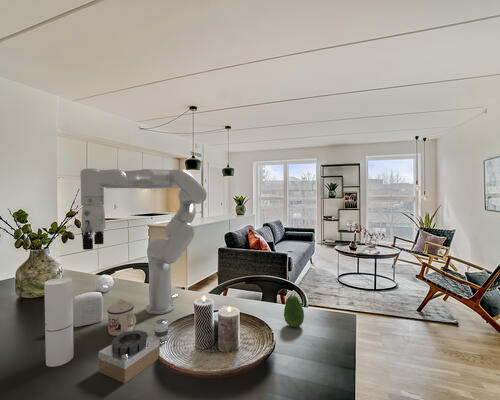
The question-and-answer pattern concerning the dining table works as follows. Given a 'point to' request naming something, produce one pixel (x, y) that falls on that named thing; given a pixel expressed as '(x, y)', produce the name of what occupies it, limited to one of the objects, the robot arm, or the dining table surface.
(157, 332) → the lens
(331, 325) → the dining table surface
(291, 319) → the avocado
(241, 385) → the dining table surface
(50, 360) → the cylindrical container
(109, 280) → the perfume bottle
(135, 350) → the camera body
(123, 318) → the teacup with lid
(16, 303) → the dining table surface
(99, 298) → the photo printer
